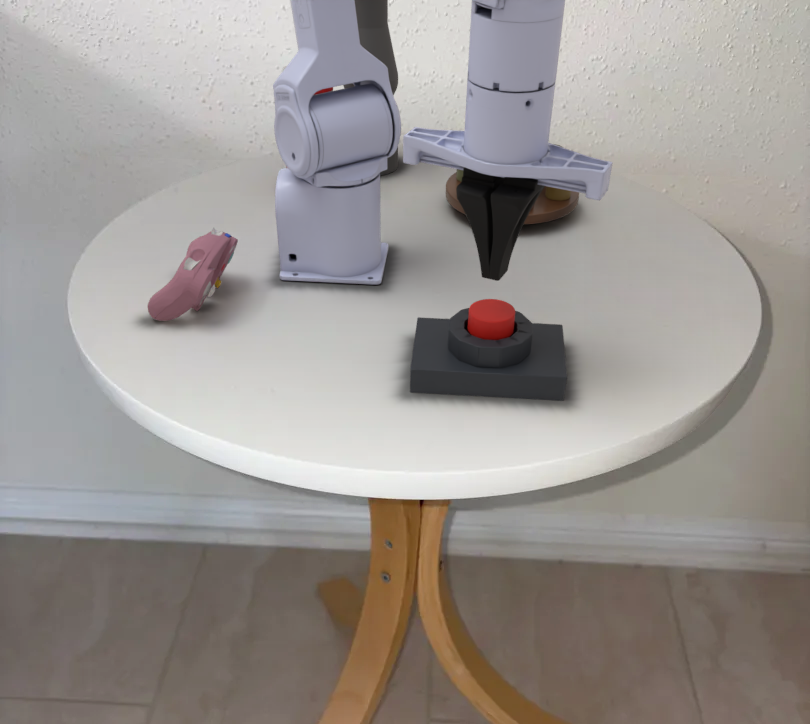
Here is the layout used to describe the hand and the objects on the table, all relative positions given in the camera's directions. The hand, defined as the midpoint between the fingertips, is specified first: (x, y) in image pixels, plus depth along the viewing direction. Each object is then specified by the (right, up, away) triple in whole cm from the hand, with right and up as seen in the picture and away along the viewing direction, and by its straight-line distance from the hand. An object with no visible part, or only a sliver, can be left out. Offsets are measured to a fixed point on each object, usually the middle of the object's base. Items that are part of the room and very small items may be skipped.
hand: (494, 273), depth 68 cm
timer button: (0, -3, +3) cm, 5 cm away
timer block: (0, -6, +6) cm, 8 cm away
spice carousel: (+5, +16, +28) cm, 33 cm away
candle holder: (-11, +23, +37) cm, 45 cm away
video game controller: (-25, +1, +14) cm, 29 cm away
